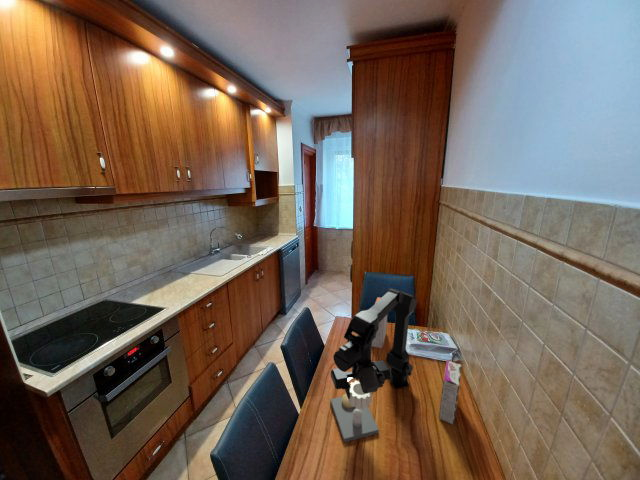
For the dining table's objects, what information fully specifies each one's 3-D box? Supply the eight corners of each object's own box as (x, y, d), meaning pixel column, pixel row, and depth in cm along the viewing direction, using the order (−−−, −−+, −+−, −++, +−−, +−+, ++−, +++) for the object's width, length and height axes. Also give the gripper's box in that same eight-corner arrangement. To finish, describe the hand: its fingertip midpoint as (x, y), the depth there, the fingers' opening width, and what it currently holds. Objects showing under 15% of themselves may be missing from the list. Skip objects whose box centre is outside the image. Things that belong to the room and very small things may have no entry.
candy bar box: (441, 395, 95) (446, 359, 91) (456, 401, 92) (462, 364, 89) (437, 418, 86) (443, 379, 82) (453, 426, 83) (460, 385, 79)
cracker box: (375, 331, 136) (377, 296, 131) (386, 333, 134) (389, 298, 129) (370, 346, 123) (372, 308, 118) (382, 349, 121) (384, 311, 116)
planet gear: (365, 388, 86) (365, 378, 85) (375, 406, 79) (375, 396, 78) (344, 392, 84) (345, 382, 83) (353, 411, 77) (353, 401, 76)
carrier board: (360, 395, 95) (360, 381, 94) (378, 433, 81) (379, 417, 79) (330, 402, 92) (330, 387, 91) (344, 442, 78) (344, 426, 77)
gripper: (342, 378, 68) (340, 424, 71) (402, 367, 72) (398, 411, 76) (330, 352, 78) (329, 393, 82) (383, 343, 83) (380, 383, 86)
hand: (359, 395), depth 81 cm, fingers closed on planet gear, 7 cm apart
